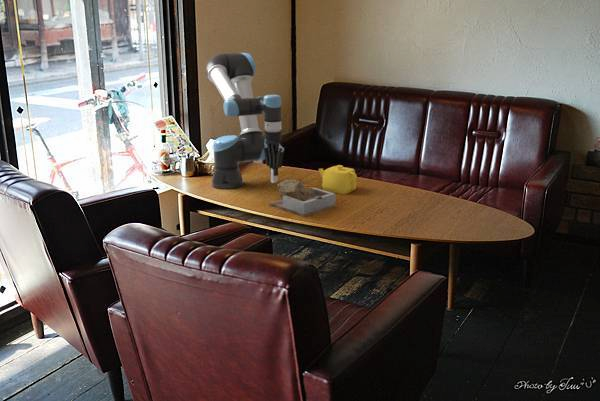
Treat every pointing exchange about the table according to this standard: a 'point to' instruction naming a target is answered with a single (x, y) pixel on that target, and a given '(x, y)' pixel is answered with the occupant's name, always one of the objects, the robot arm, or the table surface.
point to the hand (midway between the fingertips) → (274, 182)
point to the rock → (293, 189)
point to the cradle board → (279, 205)
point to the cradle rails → (310, 201)
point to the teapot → (338, 179)
